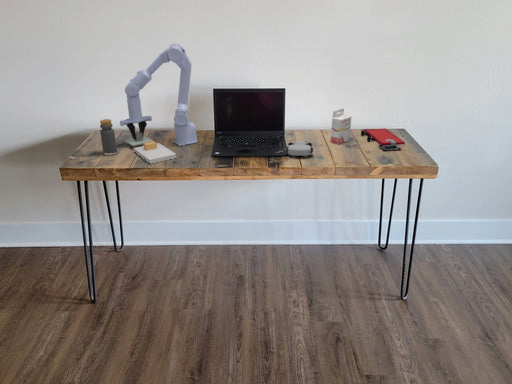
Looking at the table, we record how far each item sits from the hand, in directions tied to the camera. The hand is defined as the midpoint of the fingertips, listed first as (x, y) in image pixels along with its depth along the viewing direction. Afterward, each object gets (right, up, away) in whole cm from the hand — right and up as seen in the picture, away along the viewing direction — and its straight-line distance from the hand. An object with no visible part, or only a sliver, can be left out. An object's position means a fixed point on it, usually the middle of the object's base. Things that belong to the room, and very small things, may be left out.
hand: (138, 138), depth 225 cm
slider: (+8, -6, -10) cm, 14 cm away
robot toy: (+74, -8, -11) cm, 75 cm away
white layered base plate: (+10, -9, -12) cm, 18 cm away
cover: (0, -2, 0) cm, 2 cm away
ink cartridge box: (+94, -1, +2) cm, 94 cm away
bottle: (-10, -8, -9) cm, 16 cm away
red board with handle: (+114, -1, +3) cm, 114 cm away
